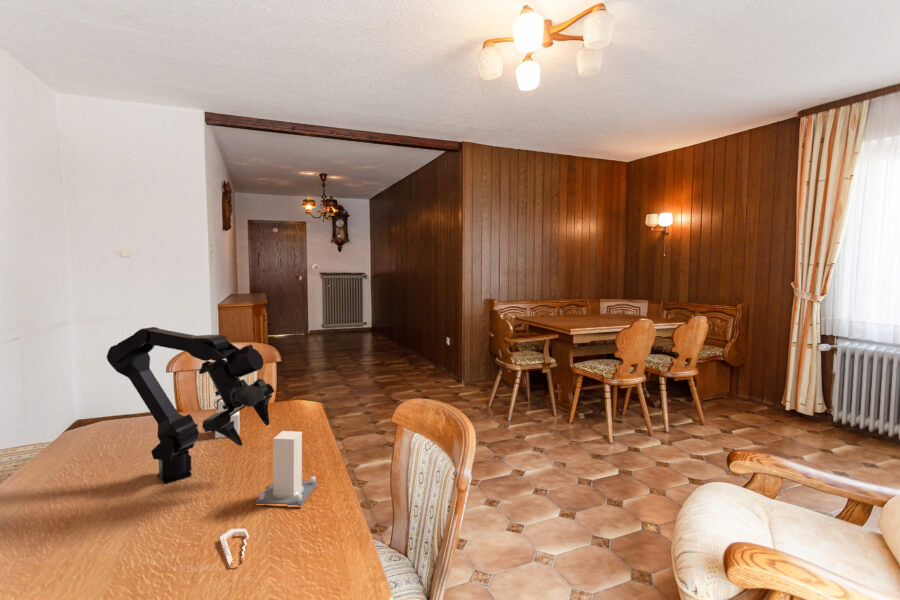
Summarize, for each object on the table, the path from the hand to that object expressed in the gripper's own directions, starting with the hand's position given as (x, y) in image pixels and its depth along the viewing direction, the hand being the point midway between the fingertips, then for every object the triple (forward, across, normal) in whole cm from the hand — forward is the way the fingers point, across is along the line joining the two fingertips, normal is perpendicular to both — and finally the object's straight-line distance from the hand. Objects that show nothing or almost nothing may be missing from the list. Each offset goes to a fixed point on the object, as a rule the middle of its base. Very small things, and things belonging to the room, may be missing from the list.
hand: (254, 434), depth 116 cm
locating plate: (+15, -5, -9) cm, 18 cm away
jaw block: (+14, -5, -9) cm, 17 cm away
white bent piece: (+13, -25, -16) cm, 32 cm away
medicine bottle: (+5, +16, +37) cm, 40 cm away
